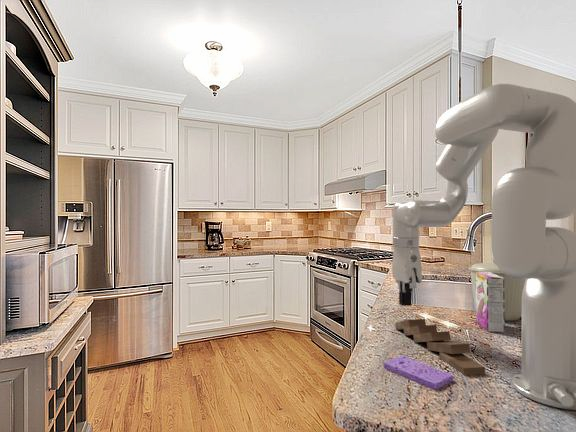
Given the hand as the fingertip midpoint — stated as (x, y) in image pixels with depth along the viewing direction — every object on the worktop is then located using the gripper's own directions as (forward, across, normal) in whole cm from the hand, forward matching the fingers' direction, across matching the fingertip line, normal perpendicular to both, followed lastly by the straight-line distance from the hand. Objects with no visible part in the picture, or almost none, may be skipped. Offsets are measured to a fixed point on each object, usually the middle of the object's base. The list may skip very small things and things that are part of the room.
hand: (405, 304), depth 105 cm
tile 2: (+7, -16, 0) cm, 17 cm away
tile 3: (+7, -10, 0) cm, 12 cm away
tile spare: (+7, -21, 0) cm, 22 cm away
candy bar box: (+8, 0, -28) cm, 29 cm away
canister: (+8, +10, -39) cm, 41 cm away
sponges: (+8, -28, +12) cm, 32 cm away
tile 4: (+7, -4, 0) cm, 8 cm away
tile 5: (+7, +2, 0) cm, 7 cm away
